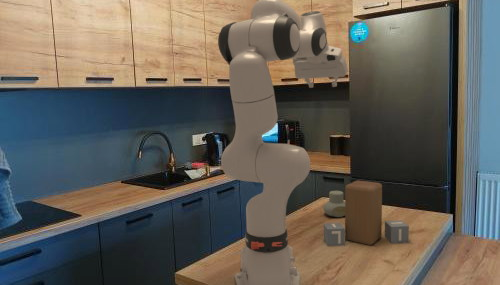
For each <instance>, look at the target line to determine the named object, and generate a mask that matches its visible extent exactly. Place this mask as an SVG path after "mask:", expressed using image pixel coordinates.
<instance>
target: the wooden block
mask: <svg viewBox="0 0 500 285" xmlns="http://www.w3.org/2000/svg"><path fill="white" fill-rule="evenodd" d="M344 187H345V189H344V190H345V195H344V199H345V201H344V202H345V216H344V218H345V219H344V222H345V223H344V224H345V225H344V228H345V240H347V241H352V242H356V243H359V244H364V245H368V246H371V245H372V246H373V244H375V243H376V242H377V241H378V240H379V239H380V238H381V237H382V233H383V232H382V229H383V228H382V226H383V225H382V224H383V222H382V219H383V217H382V216H383V215H382V214H383V213H382V212H383V185H382V183H380V182H376V181H375V182H373V181H367V180H366V181H365V180H359V179H358V180H355V181H352V182H350V183H348V184H346V185H345V186H344Z"/></svg>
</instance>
